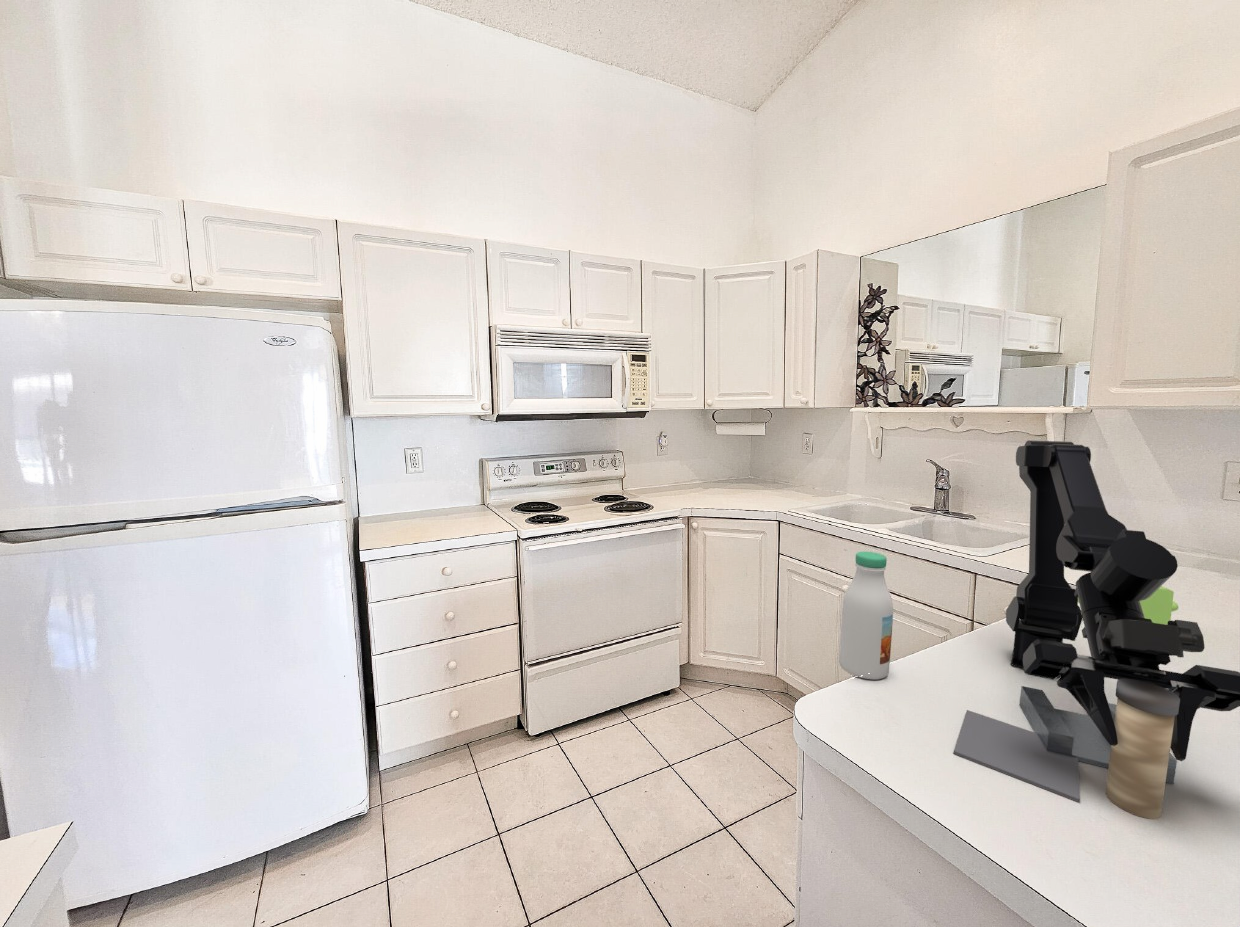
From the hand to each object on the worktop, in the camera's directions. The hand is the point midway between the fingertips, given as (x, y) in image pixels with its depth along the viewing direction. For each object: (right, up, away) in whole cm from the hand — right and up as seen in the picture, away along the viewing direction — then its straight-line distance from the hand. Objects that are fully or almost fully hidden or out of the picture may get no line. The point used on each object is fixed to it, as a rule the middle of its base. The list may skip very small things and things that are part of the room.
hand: (1146, 752), depth 55 cm
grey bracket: (+6, -6, +13) cm, 15 cm away
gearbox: (+49, -3, +52) cm, 71 cm away
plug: (+1, -7, +2) cm, 7 cm away
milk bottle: (-16, -4, +31) cm, 35 cm away
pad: (-6, -6, +10) cm, 13 cm away
